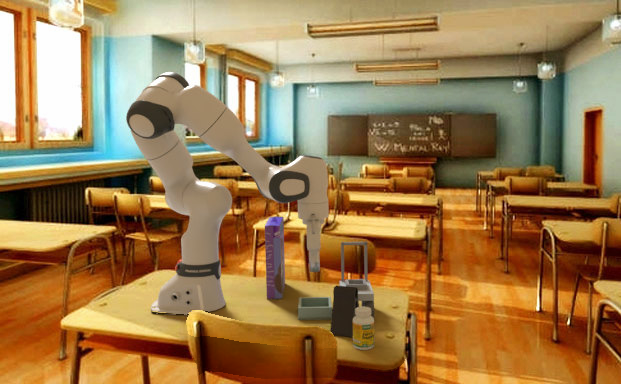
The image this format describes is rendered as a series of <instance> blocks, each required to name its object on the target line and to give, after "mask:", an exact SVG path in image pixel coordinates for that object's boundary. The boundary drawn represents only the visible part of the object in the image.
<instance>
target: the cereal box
mask: <svg viewBox="0 0 621 384" xmlns="http://www.w3.org/2000/svg"><path fill="white" fill-rule="evenodd" d="M284 224H285V223H284V216H269V217H268V220H267V221H266V223H265V224H264V240H265V242H264V247H265V279H266V282H265V283H266V285H265V287H266V300H282V299H283V295H284V292H285V291H284V290H285V285H286V272H285V271H286V269H285V268H286V267H285V265H286V264H285V263H286V261H285V235H284V234H285V227H284Z"/></svg>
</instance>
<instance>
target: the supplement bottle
mask: <svg viewBox="0 0 621 384" xmlns="http://www.w3.org/2000/svg"><path fill="white" fill-rule="evenodd" d="M355 315H356V316H355V317H354V318H353V337H352V346H353V347H354V348H355V349H357V350H360V351H361V350H362V351H368V350H372V349H373V348H374V347H375V317H374V318H373V317H372V316H370V315H371V308H369V307H362V306H359V307H357V308H356V309H355Z"/></svg>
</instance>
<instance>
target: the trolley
mask: <svg viewBox="0 0 621 384" xmlns="http://www.w3.org/2000/svg"><path fill="white" fill-rule="evenodd" d="M345 246H363V247H364V253H363V254H364V255H363V256H364V258H363V259H364V278H357V279H356V278H355V279H349V278H348V279H345ZM340 260H341V261H340V262H341V263H340V264H341V265H340V269H341V275H340V276H341V277H340V278H341V280H339V286H346V287H356V288H358V301H359V302H361V307H369V308H371V315H370V316H372V317H373V318H374V319H375V302H374V301H375V292H374V290H373V287H372V285H371V281H370V280H368V241H341V242H340Z"/></svg>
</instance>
